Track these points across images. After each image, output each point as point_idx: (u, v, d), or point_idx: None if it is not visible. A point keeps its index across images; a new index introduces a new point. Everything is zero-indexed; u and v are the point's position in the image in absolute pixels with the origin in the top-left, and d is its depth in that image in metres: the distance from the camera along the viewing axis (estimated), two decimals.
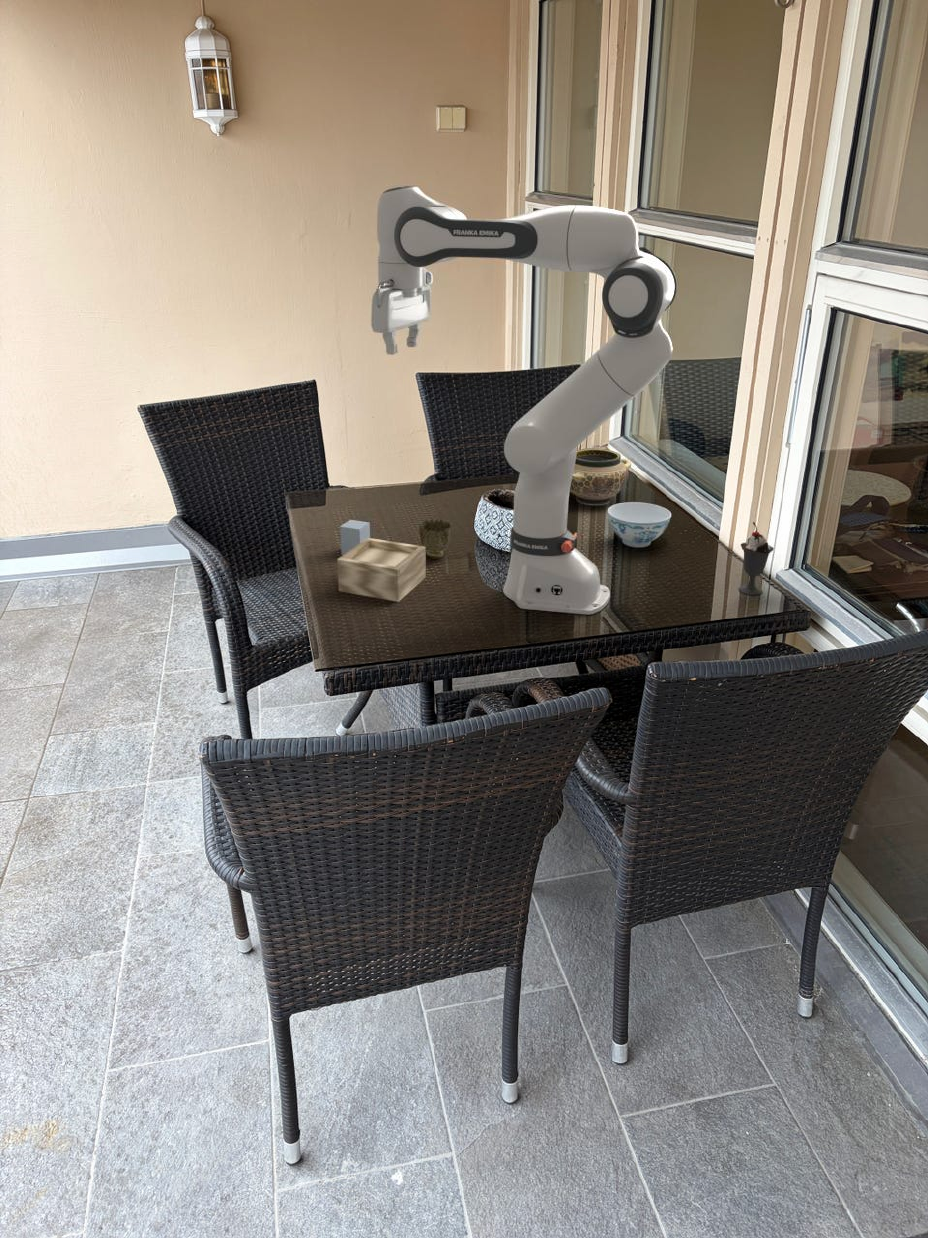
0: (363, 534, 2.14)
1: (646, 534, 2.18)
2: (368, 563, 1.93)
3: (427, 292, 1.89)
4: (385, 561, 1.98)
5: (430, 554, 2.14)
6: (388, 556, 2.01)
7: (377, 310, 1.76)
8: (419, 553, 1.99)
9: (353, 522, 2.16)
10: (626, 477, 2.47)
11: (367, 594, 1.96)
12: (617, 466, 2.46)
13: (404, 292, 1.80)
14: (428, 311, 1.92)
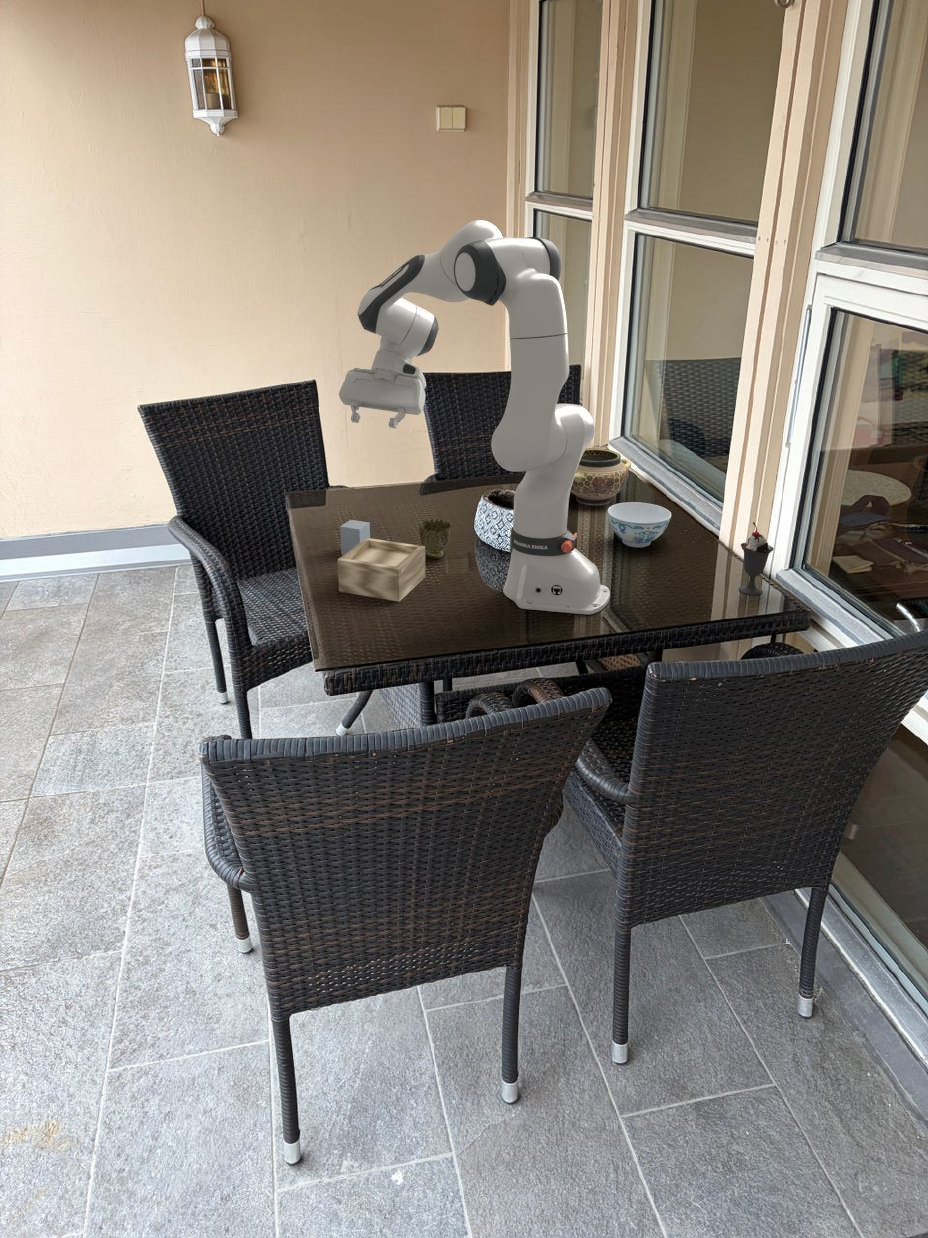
0: (363, 534, 2.14)
1: (646, 534, 2.18)
2: (369, 563, 1.93)
3: (414, 384, 2.14)
4: (385, 561, 1.98)
5: (430, 554, 2.14)
6: (387, 556, 2.01)
7: None
8: (419, 553, 2.00)
9: (353, 522, 2.16)
10: (626, 477, 2.47)
11: (368, 594, 1.95)
12: (617, 466, 2.46)
13: (374, 375, 2.17)
14: (414, 399, 2.13)
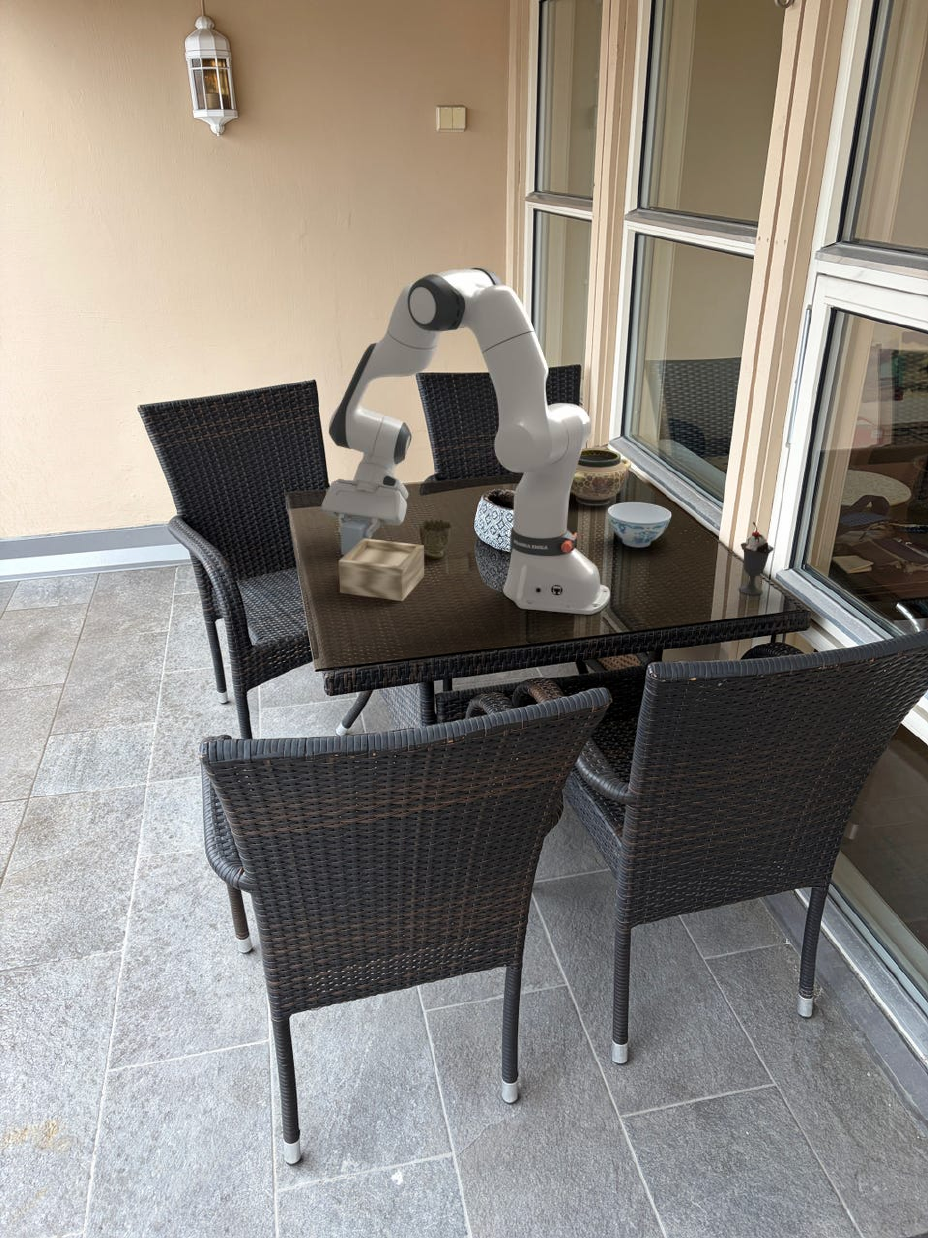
0: None
1: (646, 534, 2.18)
2: (370, 563, 1.93)
3: (394, 495, 2.14)
4: (385, 561, 1.98)
5: (430, 554, 2.14)
6: (387, 555, 2.01)
7: None
8: (419, 552, 2.00)
9: (353, 522, 2.16)
10: (626, 477, 2.47)
11: (370, 595, 1.95)
12: (617, 466, 2.46)
13: (356, 487, 2.18)
14: (394, 511, 2.13)
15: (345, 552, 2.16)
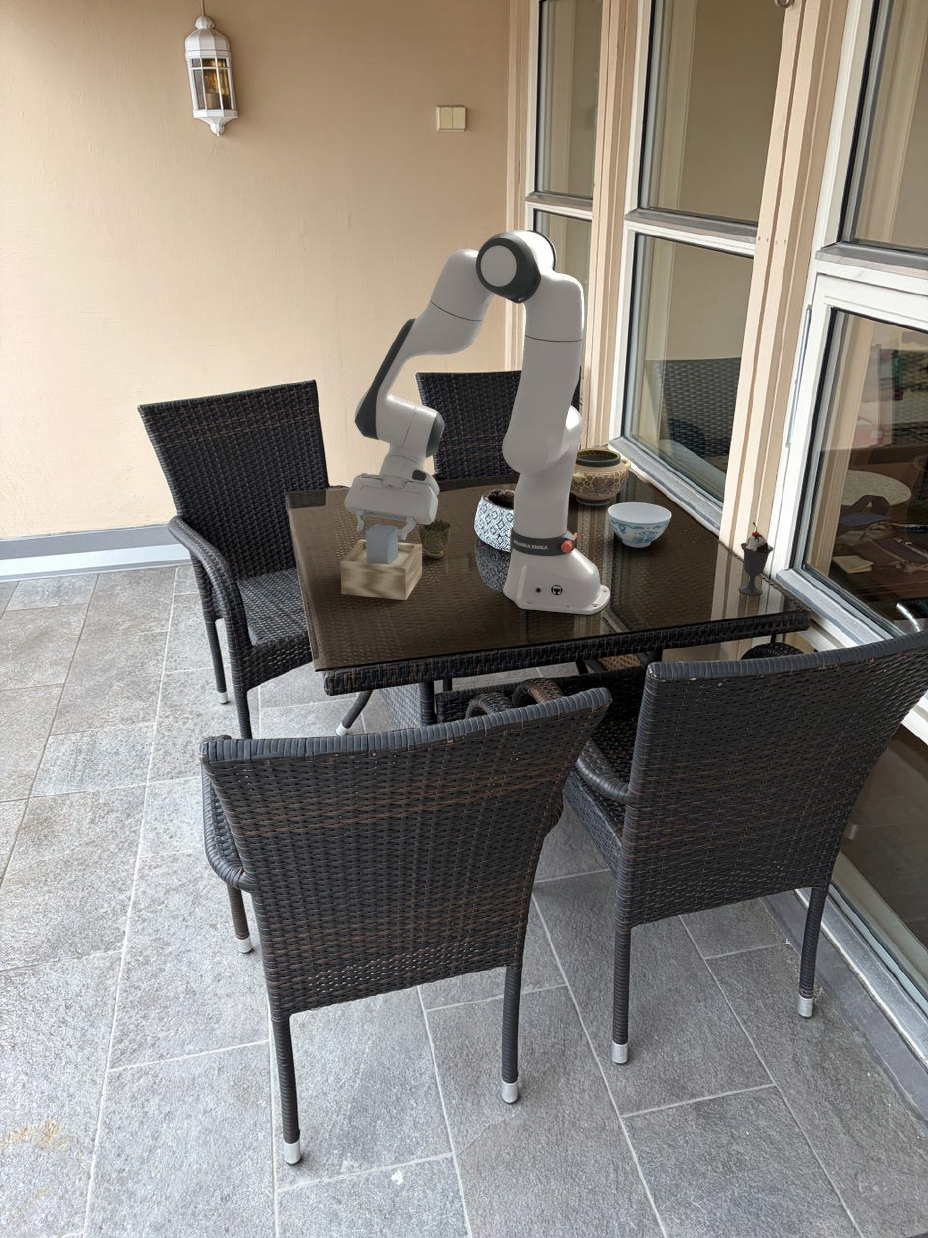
0: (391, 539, 1.95)
1: (646, 534, 2.18)
2: (373, 564, 1.93)
3: (424, 491, 1.94)
4: None
5: (430, 554, 2.14)
6: None
7: None
8: (418, 551, 2.01)
9: (379, 526, 1.97)
10: (626, 477, 2.47)
11: (372, 595, 1.95)
12: (617, 466, 2.46)
13: (382, 482, 1.98)
14: (424, 509, 1.93)
15: (371, 559, 1.97)
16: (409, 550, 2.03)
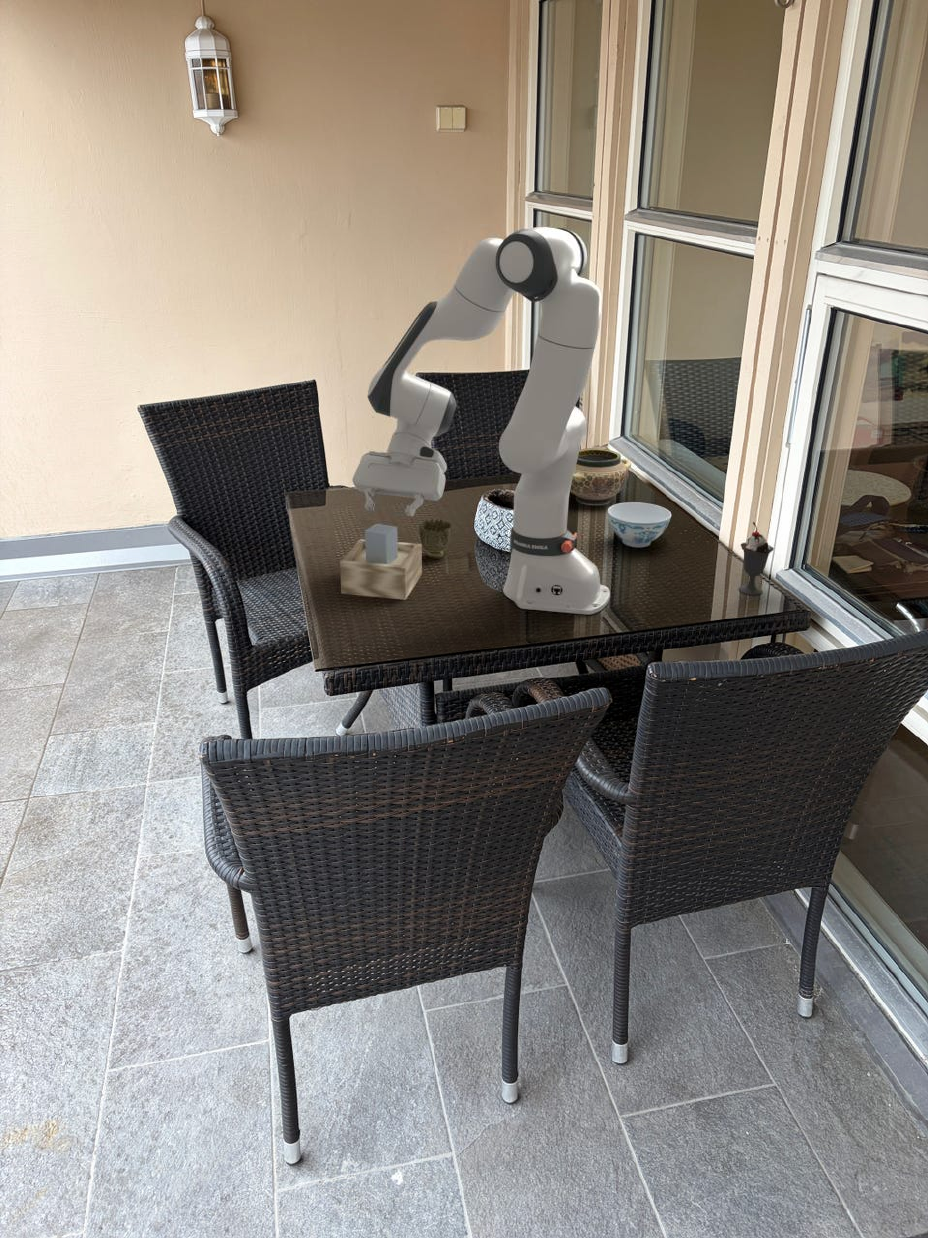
0: (390, 539, 1.95)
1: (646, 534, 2.18)
2: (373, 564, 1.93)
3: (432, 467, 1.96)
4: None
5: (430, 554, 2.14)
6: None
7: None
8: (417, 550, 2.01)
9: (379, 526, 1.97)
10: (626, 477, 2.47)
11: (372, 595, 1.95)
12: (617, 466, 2.46)
13: (390, 459, 2.00)
14: (432, 485, 1.95)
15: (370, 559, 1.97)
16: (409, 550, 2.03)
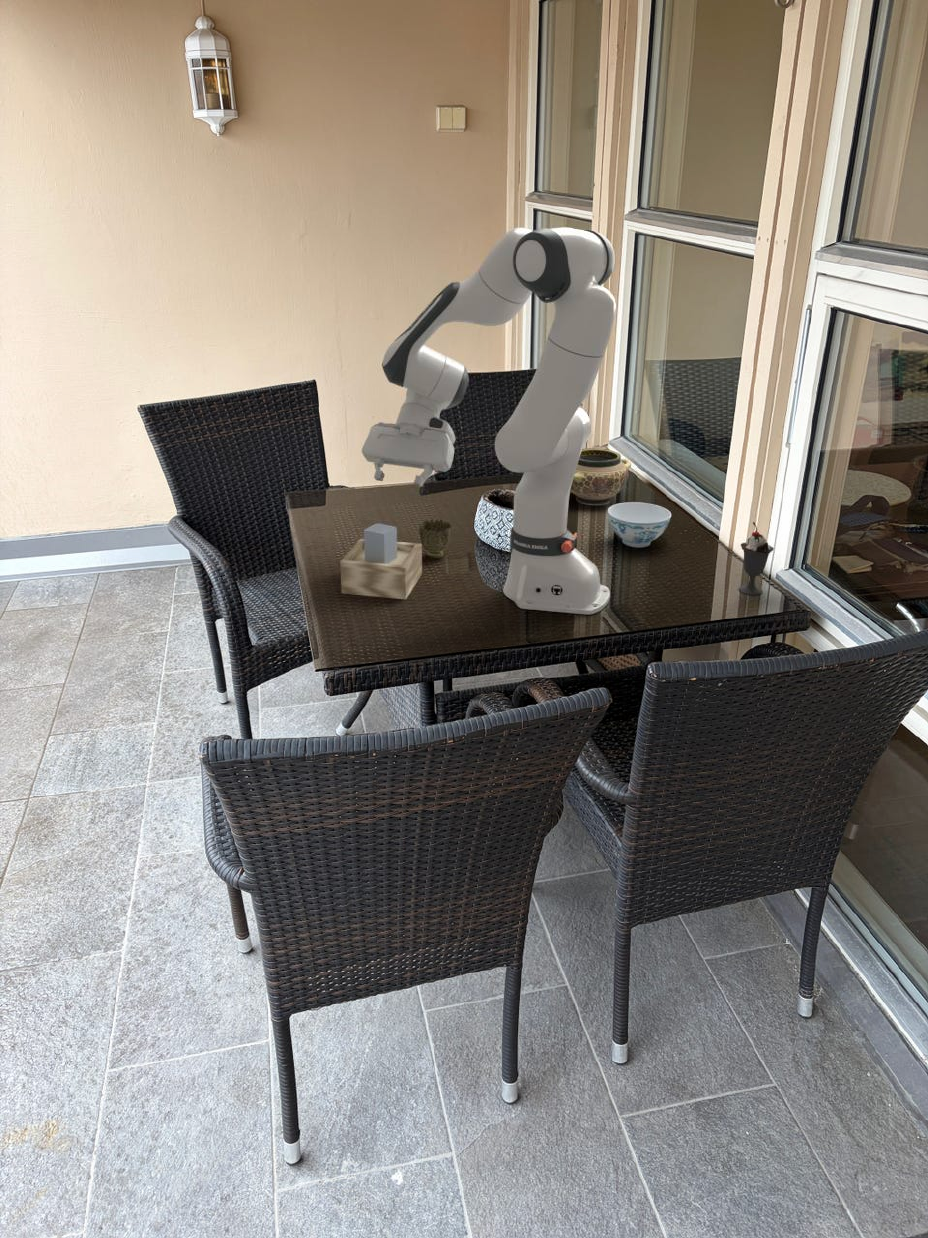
0: (389, 539, 1.96)
1: (646, 534, 2.18)
2: (373, 563, 1.93)
3: (441, 438, 1.98)
4: None
5: (430, 554, 2.14)
6: None
7: None
8: (418, 550, 2.01)
9: (379, 526, 1.97)
10: (626, 477, 2.47)
11: (372, 594, 1.96)
12: (617, 466, 2.46)
13: (399, 430, 2.02)
14: (441, 455, 1.97)
15: (369, 558, 1.98)
16: (409, 549, 2.04)
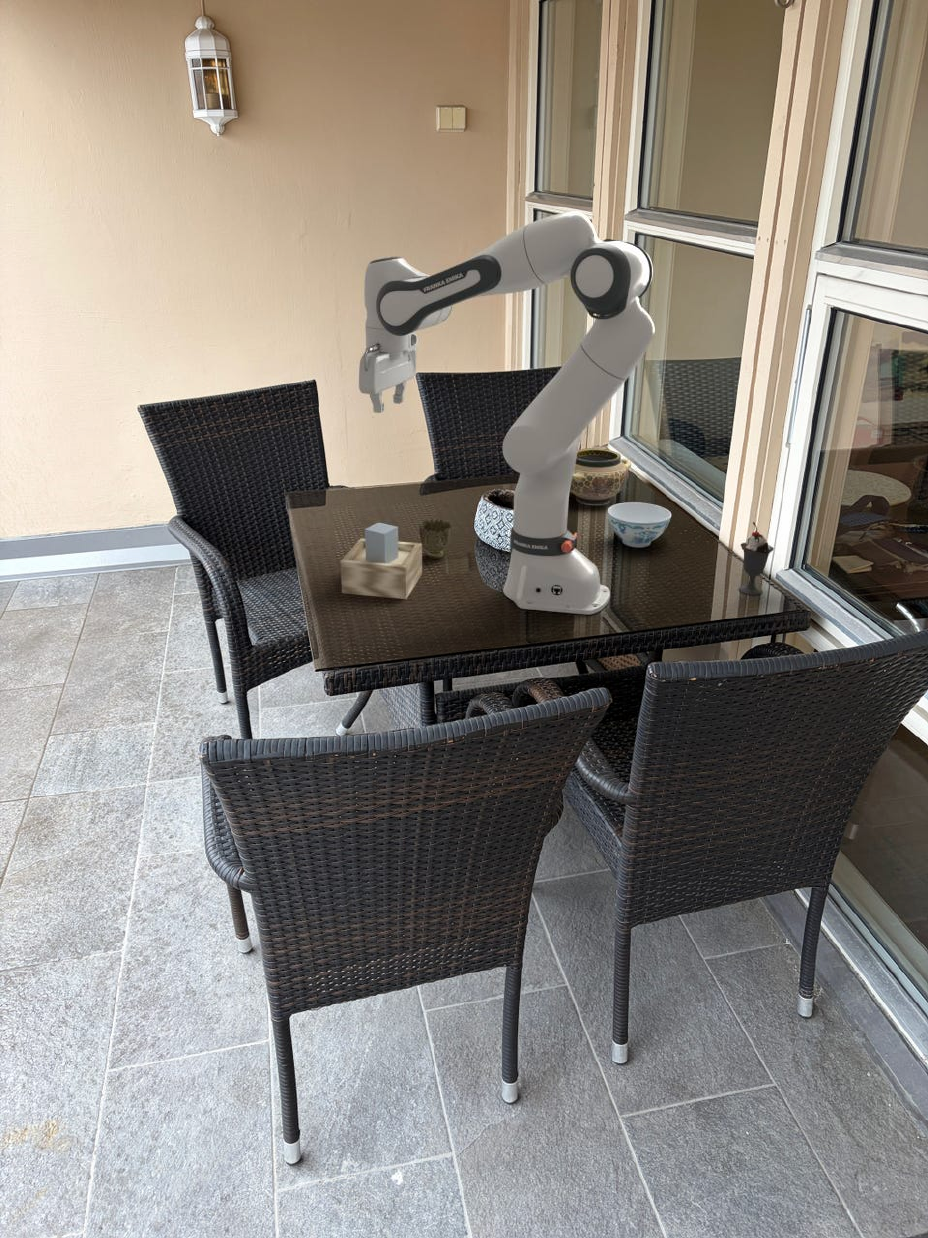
0: (390, 539, 1.96)
1: (646, 534, 2.18)
2: (373, 563, 1.93)
3: (412, 352, 2.00)
4: None
5: (430, 554, 2.14)
6: None
7: (365, 373, 1.87)
8: (418, 550, 2.01)
9: (380, 525, 1.98)
10: (626, 477, 2.47)
11: (373, 594, 1.96)
12: (617, 466, 2.46)
13: (390, 355, 1.91)
14: (414, 369, 2.02)
15: (369, 558, 1.98)
16: (409, 549, 2.04)
